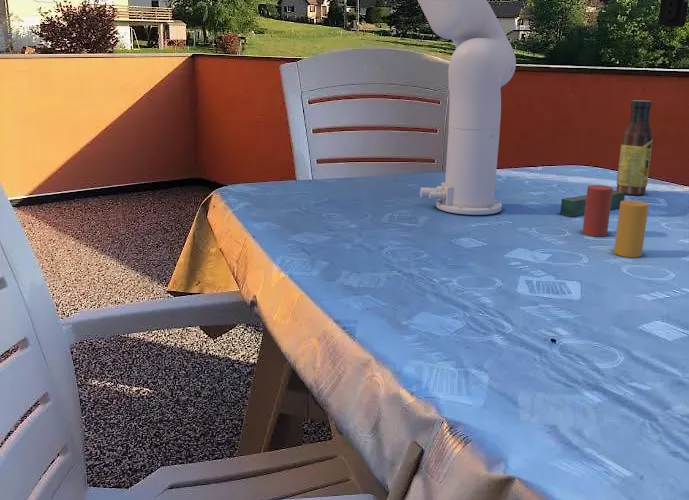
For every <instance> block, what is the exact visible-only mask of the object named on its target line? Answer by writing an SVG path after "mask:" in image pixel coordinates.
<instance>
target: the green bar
mask: <svg viewBox="0 0 689 500" xmlns="http://www.w3.org/2000/svg"><path fill="white" fill-rule="evenodd" d="M625 195H626V194H625V193H624V192H619V191H617V190H614V189H613V192H612V200H611V208H610V211H611V210H616V209H620V202H621V201H624V200H625ZM586 197H587V194H583V195H576V196H570V197H565V198H561V203H560V212H559V214H560V215H561V216H566V217H570V218H573V217H578V216H579V217H580V216H584V214H585V205H586Z"/></svg>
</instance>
